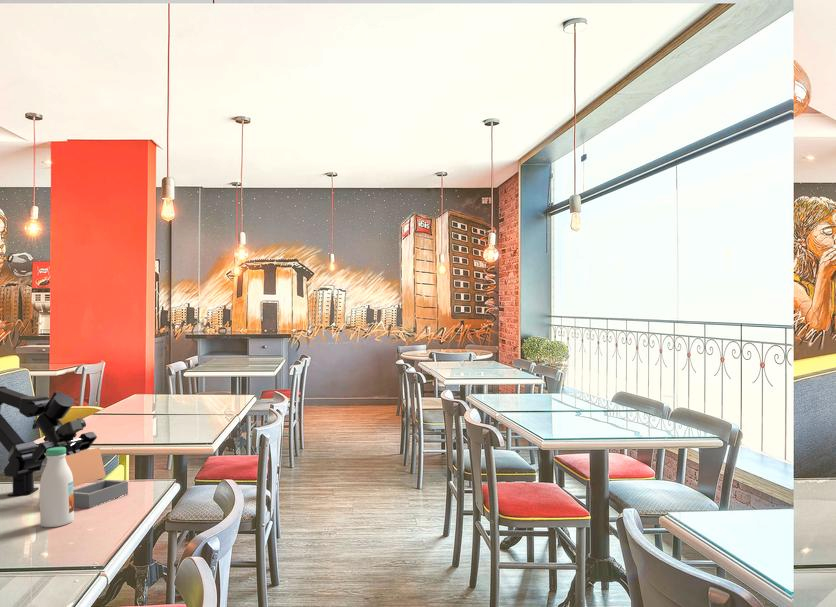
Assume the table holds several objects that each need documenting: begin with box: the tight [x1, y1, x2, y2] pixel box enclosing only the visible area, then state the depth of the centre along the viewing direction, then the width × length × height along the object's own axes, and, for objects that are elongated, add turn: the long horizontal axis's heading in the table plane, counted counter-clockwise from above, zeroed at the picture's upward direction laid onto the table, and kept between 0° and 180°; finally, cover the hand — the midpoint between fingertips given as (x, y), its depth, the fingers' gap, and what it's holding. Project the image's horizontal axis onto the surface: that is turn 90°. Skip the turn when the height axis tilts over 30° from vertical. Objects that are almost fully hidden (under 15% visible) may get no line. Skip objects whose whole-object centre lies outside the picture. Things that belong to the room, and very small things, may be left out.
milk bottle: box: [39, 447, 75, 528], centre depth 162 cm, size 8×8×20 cm
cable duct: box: [73, 479, 129, 509], centre depth 182 cm, size 9×14×4 cm, turn 160°
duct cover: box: [65, 446, 107, 488], centre depth 185 cm, size 10×14×1 cm
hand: (80, 466), depth 185 cm, fingers closed
